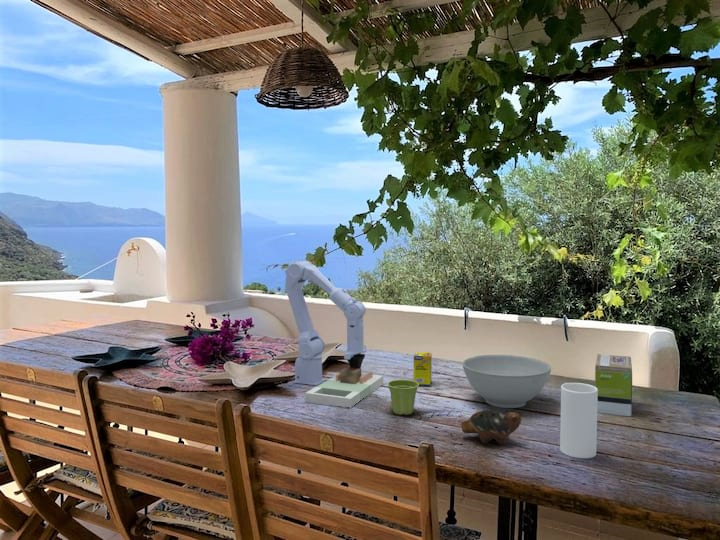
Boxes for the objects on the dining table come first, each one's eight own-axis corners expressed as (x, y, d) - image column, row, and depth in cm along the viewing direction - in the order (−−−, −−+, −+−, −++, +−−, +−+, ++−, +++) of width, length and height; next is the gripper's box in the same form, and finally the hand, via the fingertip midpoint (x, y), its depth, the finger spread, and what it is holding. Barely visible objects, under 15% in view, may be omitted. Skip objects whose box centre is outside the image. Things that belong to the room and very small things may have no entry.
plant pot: (401, 404, 166) (401, 377, 166) (425, 411, 160) (425, 383, 159) (381, 412, 160) (380, 383, 159) (404, 419, 153) (404, 390, 153)
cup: (554, 445, 134) (555, 383, 133) (585, 443, 135) (586, 382, 133) (569, 459, 126) (571, 393, 125) (603, 457, 126) (604, 391, 125)
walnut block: (340, 382, 181) (340, 371, 181) (347, 378, 186) (346, 367, 186) (355, 384, 179) (354, 372, 178) (361, 380, 184) (361, 368, 183)
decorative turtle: (524, 449, 132) (522, 418, 131) (462, 449, 134) (460, 419, 134) (519, 432, 141) (517, 403, 140) (461, 433, 144) (459, 404, 143)
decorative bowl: (564, 400, 169) (565, 363, 168) (526, 423, 149) (526, 381, 148) (488, 384, 187) (489, 350, 186) (446, 403, 168) (446, 365, 167)
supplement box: (430, 387, 185) (430, 356, 184) (413, 386, 186) (413, 355, 185) (431, 382, 191) (431, 352, 190) (415, 381, 192) (415, 351, 191)
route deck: (305, 402, 170) (305, 386, 170) (342, 379, 195) (342, 366, 195) (350, 408, 163) (350, 392, 163) (383, 384, 189) (383, 370, 189)
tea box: (596, 398, 171) (597, 352, 170) (630, 402, 167) (632, 355, 166) (593, 412, 158) (595, 363, 157) (631, 417, 153) (633, 367, 152)
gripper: (357, 341, 177) (357, 381, 178) (373, 333, 190) (373, 371, 191) (338, 340, 180) (338, 379, 181) (355, 332, 193) (356, 369, 194)
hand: (355, 375), depth 186 cm, fingers closed
